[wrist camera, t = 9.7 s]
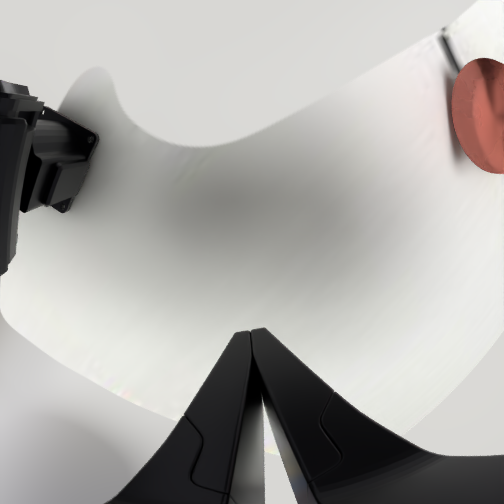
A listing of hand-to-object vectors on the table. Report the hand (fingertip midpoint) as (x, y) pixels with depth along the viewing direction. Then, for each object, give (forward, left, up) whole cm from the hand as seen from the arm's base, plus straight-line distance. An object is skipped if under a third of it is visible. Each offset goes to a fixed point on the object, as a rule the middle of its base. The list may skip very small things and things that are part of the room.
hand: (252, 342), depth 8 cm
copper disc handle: (+14, +21, -12) cm, 28 cm away
